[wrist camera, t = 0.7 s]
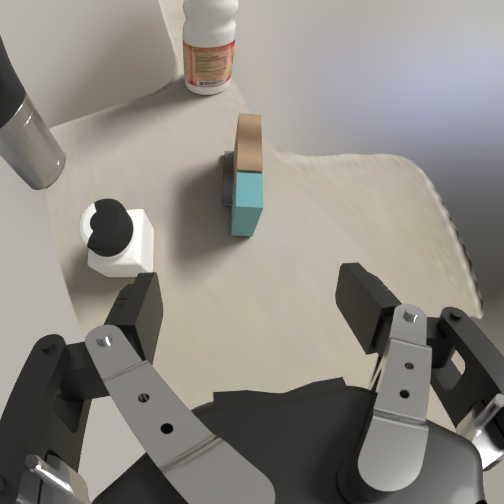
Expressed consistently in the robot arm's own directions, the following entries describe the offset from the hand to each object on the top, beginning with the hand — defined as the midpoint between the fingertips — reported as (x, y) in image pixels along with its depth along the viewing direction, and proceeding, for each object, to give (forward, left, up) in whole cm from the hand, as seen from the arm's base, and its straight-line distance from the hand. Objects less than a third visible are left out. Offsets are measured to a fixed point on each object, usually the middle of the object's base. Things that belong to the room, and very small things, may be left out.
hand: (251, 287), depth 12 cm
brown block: (-9, +19, -26) cm, 34 cm away
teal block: (-5, +13, -26) cm, 29 cm away
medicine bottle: (-17, 0, -26) cm, 31 cm away
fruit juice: (-28, +36, -26) cm, 53 cm away
